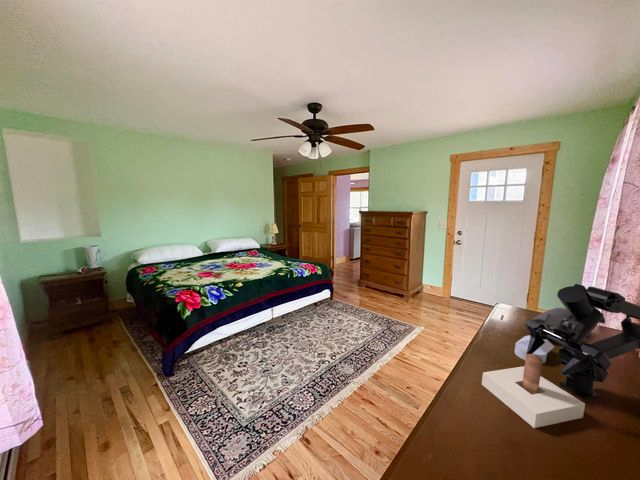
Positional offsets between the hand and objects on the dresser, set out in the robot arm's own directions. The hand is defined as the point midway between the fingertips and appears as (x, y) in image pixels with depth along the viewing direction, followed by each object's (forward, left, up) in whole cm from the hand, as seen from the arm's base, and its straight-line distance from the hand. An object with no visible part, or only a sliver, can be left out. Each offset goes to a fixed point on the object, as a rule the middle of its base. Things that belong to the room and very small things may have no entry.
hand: (543, 363), depth 73 cm
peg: (+4, 0, -11) cm, 11 cm away
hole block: (+4, 0, -11) cm, 11 cm away
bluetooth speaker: (-44, -29, -11) cm, 54 cm away
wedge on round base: (-20, -18, -11) cm, 29 cm away
